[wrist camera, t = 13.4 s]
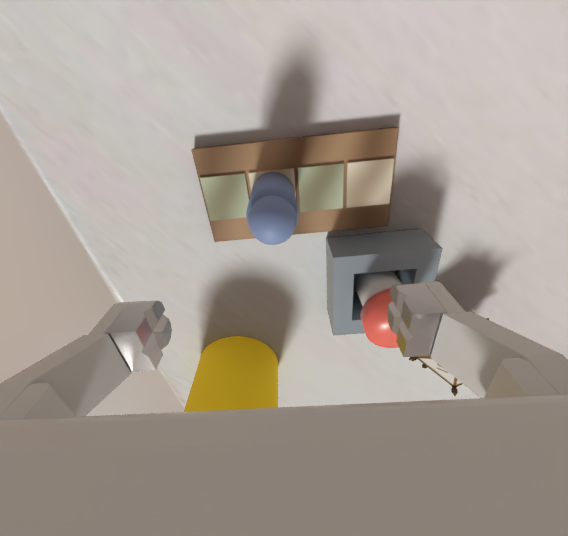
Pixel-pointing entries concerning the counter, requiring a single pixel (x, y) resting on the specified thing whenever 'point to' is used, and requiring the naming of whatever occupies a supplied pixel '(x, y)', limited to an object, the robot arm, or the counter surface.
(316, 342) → the counter surface
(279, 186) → the pawn
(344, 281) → the base
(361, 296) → the plunger
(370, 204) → the track board
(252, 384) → the yellow hollow cylinder
